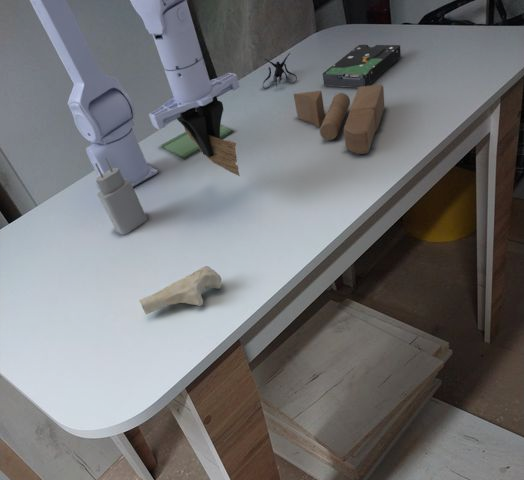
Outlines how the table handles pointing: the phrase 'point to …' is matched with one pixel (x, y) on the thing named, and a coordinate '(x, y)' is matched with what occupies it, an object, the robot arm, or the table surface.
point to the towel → (188, 143)
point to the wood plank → (222, 153)
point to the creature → (278, 71)
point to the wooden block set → (358, 122)
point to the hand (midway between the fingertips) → (212, 152)
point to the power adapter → (119, 200)
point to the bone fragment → (183, 290)
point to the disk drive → (361, 65)
